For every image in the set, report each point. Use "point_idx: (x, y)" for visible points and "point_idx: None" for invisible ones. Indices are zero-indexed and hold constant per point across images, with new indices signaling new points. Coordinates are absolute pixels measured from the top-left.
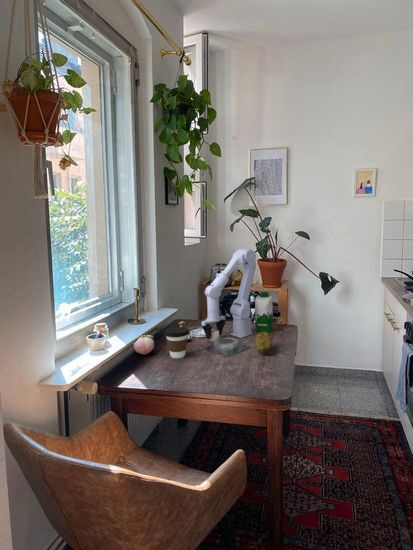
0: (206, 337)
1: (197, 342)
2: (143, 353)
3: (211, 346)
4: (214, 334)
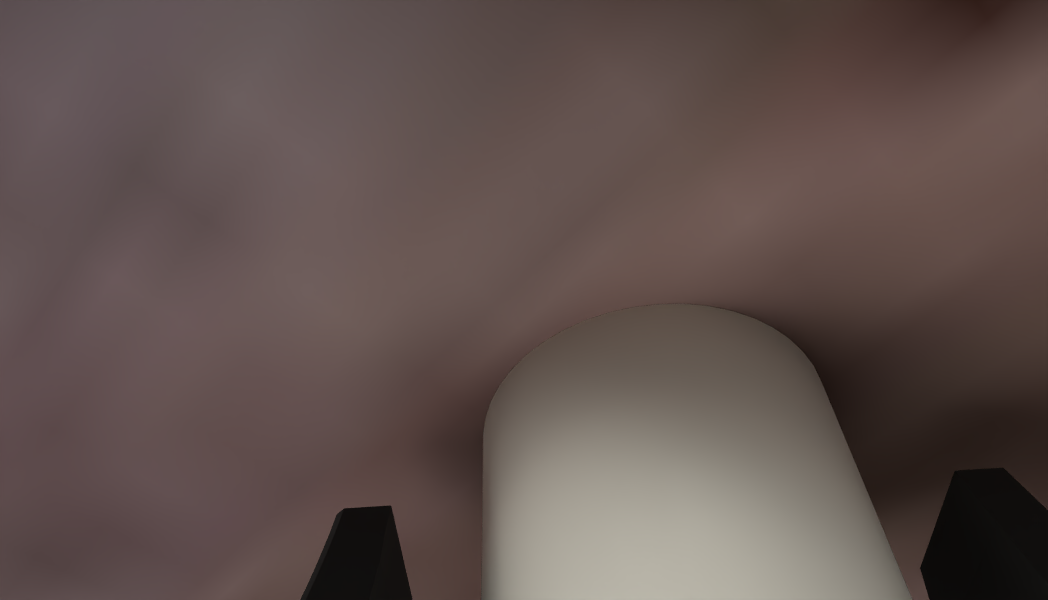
0: (326, 543)
1: (33, 240)
2: None
3: None
4: None
